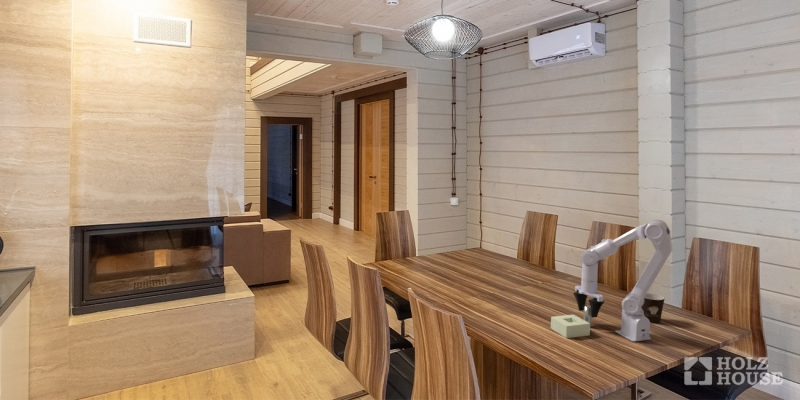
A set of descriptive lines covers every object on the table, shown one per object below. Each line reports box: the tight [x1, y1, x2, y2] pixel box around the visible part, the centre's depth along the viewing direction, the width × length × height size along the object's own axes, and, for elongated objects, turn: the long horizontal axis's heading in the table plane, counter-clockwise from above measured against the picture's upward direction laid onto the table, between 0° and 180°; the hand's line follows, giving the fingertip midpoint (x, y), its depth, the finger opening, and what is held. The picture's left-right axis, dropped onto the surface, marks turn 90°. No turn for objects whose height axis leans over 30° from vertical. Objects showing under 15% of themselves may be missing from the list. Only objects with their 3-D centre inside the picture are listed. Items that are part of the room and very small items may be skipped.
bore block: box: [550, 314, 591, 339], centre depth 175 cm, size 10×10×4 cm
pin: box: [583, 304, 593, 329], centre depth 180 cm, size 3×3×8 cm
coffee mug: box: [641, 292, 666, 324], centre depth 187 cm, size 12×9×10 cm
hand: (587, 313), depth 180 cm, fingers open, 7 cm apart
